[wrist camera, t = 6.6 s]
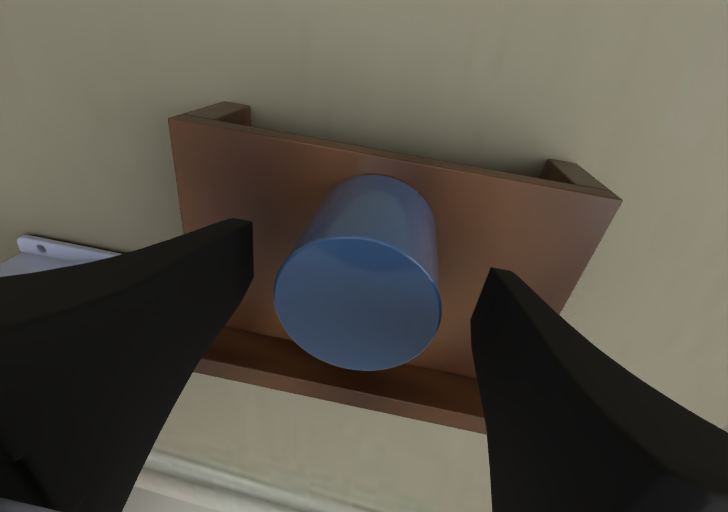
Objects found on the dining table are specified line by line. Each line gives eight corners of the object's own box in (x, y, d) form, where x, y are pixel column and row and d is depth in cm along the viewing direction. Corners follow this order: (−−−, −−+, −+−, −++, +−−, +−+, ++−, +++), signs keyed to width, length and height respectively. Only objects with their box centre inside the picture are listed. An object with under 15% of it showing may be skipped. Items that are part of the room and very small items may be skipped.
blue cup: (311, 271, 14) (271, 354, 11) (320, 163, 12) (272, 219, 8) (420, 292, 14) (420, 385, 10) (450, 186, 12) (463, 256, 8)
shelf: (234, 287, 21) (172, 368, 16) (223, 100, 15) (124, 130, 10) (496, 339, 20) (521, 442, 15) (577, 163, 15) (659, 227, 10)
